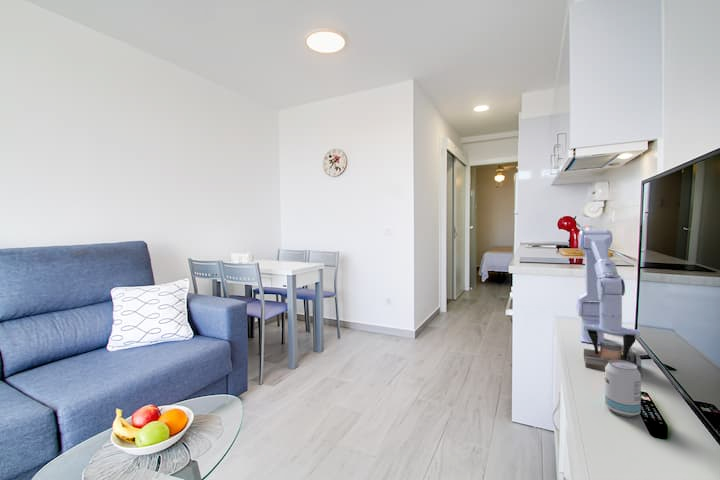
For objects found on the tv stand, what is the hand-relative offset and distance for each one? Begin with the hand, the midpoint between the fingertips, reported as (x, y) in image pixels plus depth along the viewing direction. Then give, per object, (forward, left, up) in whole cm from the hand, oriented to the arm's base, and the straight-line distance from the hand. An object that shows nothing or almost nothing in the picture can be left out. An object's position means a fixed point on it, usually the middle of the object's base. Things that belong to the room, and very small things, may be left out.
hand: (610, 355), depth 106 cm
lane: (0, 0, -3) cm, 3 cm away
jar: (0, 0, -2) cm, 2 cm away
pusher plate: (0, +5, -2) cm, 6 cm away
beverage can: (+30, -1, -4) cm, 30 cm away
